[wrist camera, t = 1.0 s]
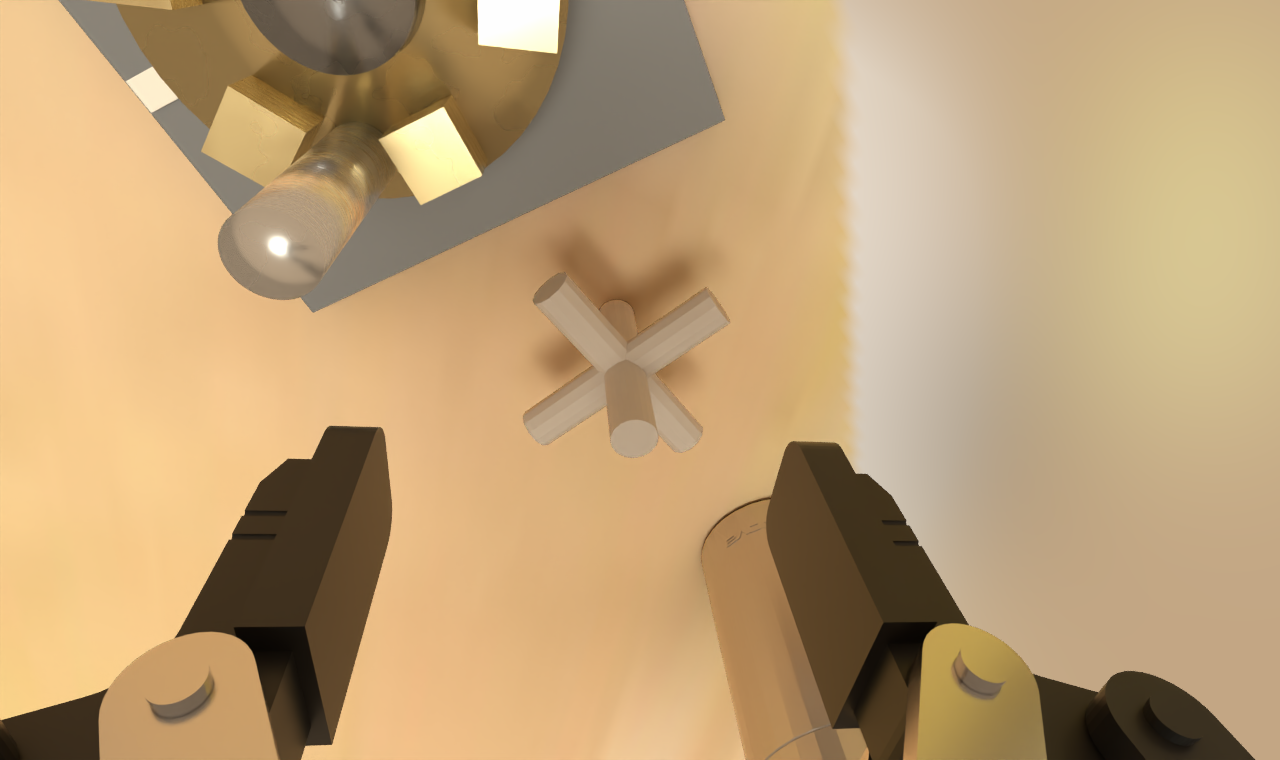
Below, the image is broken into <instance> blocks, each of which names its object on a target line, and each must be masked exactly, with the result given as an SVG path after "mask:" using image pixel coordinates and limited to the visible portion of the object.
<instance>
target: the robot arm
mask: <svg viewBox="0 0 1280 760" xmlns="http://www.w3.org/2000/svg"><path fill="white" fill-rule="evenodd" d="M391 521H392V499H391V490H390V480H389V471H388V461H387V452H386V442H385V435H384V432H383V429H382V428H381V427H350V426H329V427H328V428H327V429H326V430H325V432H324V434H323V436H322V439H321V441H320V443H319V445H318V447H317V449H316V451H315V453H314V456H313V458H312V459H287V460H286V461H285V462H284V463H283V464H281V465H280V466H279V467H278V468H277V469H275V470H274V471H273V472H272V473H271V474H270V475H268V476H267V477H266V478H265V479H264V480H262V481H261V482H260V483H259V485H258V487H257V489H256V491H255V493H254V494H253V496H252V498H251V500H250V502H249V504H248V506H247V507H246V509H245V515H244V516H242V517H241V518H240V520H239V522H238V524H237V526H236V528H235V529H234V531H233V533H232V539H231V540H229V541H228V542H227V544H226V546H225V548H224V550H223V552H222V553H221V555H220V557H219V559H218V561H217V563H216V564H215V566H214V568H213V570H212V572H211V574H210V575H209V577H208V579H207V581H206V583H205V585H204V587H203V588H202V590H201V592H200V594H199V596H198V598H197V599H196V601H195V603H194V605H193V607H192V609H191V610H190V612H189V614H188V616H187V618H186V620H185V622H184V623H183V625H182V627H181V629H180V631H179V632H178V634H177V635H176V637H175V638H174V639H172V640H169V641H167V642H164V643H162V644H160V645H158V646H156V647H154V648H152V649H151V650H149V651H147V652H146V653H144V654H143V655H141V656H140V657H138V658H137V659H136V660H135V661H133V662H132V663H131V664H130V665H129V666H127V667H126V668H125V669H124V670H123V671H122V672H121V673H120V675H119V676H118V677H117V678H116V679H115V680H114V682H113V683H112V684H111V686H110V687H109V688H108V689H106V690H103V691H101V692H99V693H96V694H92V695H89V696H86V697H83V698H80V699H76V700H73V701H69V702H65V703H62V704H58V705H55V706H51V707H47V708H44V709H40V710H36V711H33V712H29V713H26V714H22V715H18V716H15V717H11V718H8V719H4V720H0V760H301V758H302V754H303V751H304V748H305V746H309V745H332V743H333V739H334V736H335V732H336V728H337V725H338V721H339V718H340V714H341V710H342V707H343V703H344V700H345V696H346V692H347V689H348V685H349V682H350V678H351V674H352V671H353V667H354V664H355V660H356V656H357V653H358V649H359V646H360V642H361V638H362V635H363V631H364V628H365V624H366V621H367V617H368V613H369V610H370V606H371V603H372V599H373V595H374V592H375V588H376V585H377V581H378V577H379V574H380V570H381V567H382V563H383V559H384V556H385V552H386V549H387V545H388V541H389V536H390V530H391ZM701 562H702V567H703V571H704V576H705V580H706V585H707V590H708V594H709V599H710V603H711V608H712V613H713V618H714V622H715V627H716V631H717V636H718V640H719V644H720V649H721V653H722V658H723V662H724V666H725V671H726V675H727V680H728V684H729V689H730V693H731V697H732V702H733V706H734V711H735V715H736V719H737V724H738V728H739V733H740V737H741V741H742V746H743V750H744V755H745V759H746V760H1255V759H1254V758H1253V757H1252V756H1251V755H1250V754H1249V753H1248V752H1247V750H1246V749H1245V748H1244V747H1243V746H1242V745H1241V744H1240V743H1239V742H1238V741H1237V740H1236V739H1235V738H1234V737H1233V735H1232V734H1231V733H1230V732H1229V731H1228V730H1227V729H1226V728H1225V727H1224V726H1223V725H1222V724H1221V723H1220V722H1219V720H1217V718H1216V717H1215V716H1214V715H1213V714H1212V713H1211V712H1210V711H1209V710H1208V709H1206V707H1205V706H1203V705H1202V704H1201V703H1200V702H1199V701H1197V700H1196V699H1195V698H1194V697H1192V696H1190V695H1189V694H1188V693H1187V692H1185V691H1184V690H1182V689H1180V688H1179V687H1177V686H1175V685H1174V684H1172V683H1170V682H1168V681H1165V680H1163V679H1161V678H1158V677H1156V676H1153V675H1150V674H1146V673H1143V672H1135V671H1124V672H1121V673H1117V674H1115V675H1113V676H1112V677H1111V678H1110V679H1109V680H1108V682H1107V683H1106V684H1105V685H1104V686H1103V688H1102V689H1101V690H1100V691H1099V693H1098V692H1095V691H1091V690H1087V689H1084V688H1080V687H1077V686H1073V685H1069V684H1066V683H1062V682H1059V681H1055V680H1051V679H1047V678H1044V677H1040V676H1038V675H1035V674H1032V672H1031V671H1030V669H1029V667H1028V666H1027V665H1026V663H1025V662H1024V661H1023V660H1022V658H1021V657H1020V656H1019V655H1018V654H1017V653H1016V652H1015V651H1014V650H1013V649H1012V648H1010V647H1009V646H1008V645H1007V644H1005V643H1004V642H1003V641H1001V640H1000V639H998V638H997V637H995V636H993V635H992V634H990V633H988V632H985V631H983V630H981V629H979V628H976V627H972V626H969V624H968V623H967V621H966V620H965V618H964V616H963V615H962V613H961V611H960V610H959V608H958V606H957V605H956V603H955V601H954V600H953V598H952V596H951V595H950V593H949V591H948V590H947V588H946V586H945V585H944V583H943V581H942V579H941V578H940V576H939V574H938V573H937V571H936V569H935V568H934V566H933V564H932V563H931V561H930V560H929V558H928V556H927V554H926V553H925V551H924V549H923V548H922V546H919V545H918V540H917V538H916V536H915V534H914V533H913V531H912V529H911V528H910V526H907V525H906V519H905V518H904V516H903V514H902V512H901V511H900V509H899V507H898V506H897V504H896V503H895V501H894V499H893V498H892V496H891V495H890V494H889V493H888V492H887V491H886V490H884V489H883V488H882V487H881V486H880V485H879V484H878V483H877V482H875V481H874V480H873V479H872V478H871V477H870V476H869V475H868V474H855V472H854V470H853V468H852V466H851V465H850V463H849V461H848V459H847V457H846V456H845V454H844V452H843V450H842V449H841V447H840V446H839V445H838V444H836V443H828V442H796V441H793V442H790V443H789V444H788V446H787V447H786V449H785V452H784V456H783V459H782V462H781V466H780V469H779V472H778V476H777V479H776V483H775V486H774V489H773V493H772V496H771V499H769V500H763V501H760V502H756V503H753V504H749V505H747V506H745V507H743V508H741V509H739V510H737V511H735V512H733V513H732V514H730V515H729V516H727V517H726V518H724V519H723V520H722V521H721V522H720V523H719V524H718V525H717V526H716V527H715V528H714V529H713V530H712V531H711V533H710V534H709V536H708V537H707V539H706V541H705V544H704V546H703V549H702V557H701Z"/></svg>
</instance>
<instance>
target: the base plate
mask: <svg viewBox="0 0 1280 760" xmlns="http://www.w3.org/2000/svg"><path fill="white" fill-rule="evenodd" d="M59 1H60V2H61V4H62V5H63V6H64V7H65V9H66V10H67V11H68V12H69V13H70V15H71V16H72V17H73V18H74V20H75V21H76V22H77V23H78V25H79V26H80V27H81V28H82V29H83V31H84V32H85V33H86V34H87V36H88V37H89V38H90V39H91V41H92V42H93V43H94V44H95V45H96V47H97V48H98V49H99V50H100V52H101V53H102V54H103V55H104V57H105V58H106V59H107V60H108V61H109V63H110V64H111V65H112V66H113V68H114V69H115V70H116V71H117V72H118V74H119V75H120V76H121V77H122V79H123V80H124V81H125V82H126V84H127V85H128V86H129V87H130V88H131V90H132V91H133V92H134V93H135V95H136V96H137V97H138V98H139V100H140V101H141V102H142V103H143V104H144V106H145V107H146V108H147V109H148V111H149V112H150V113H151V114H152V116H153V117H154V118H155V119H156V120H157V122H158V123H159V124H160V125H161V127H162V128H163V129H164V130H165V131H166V133H167V134H168V135H169V136H170V138H171V139H172V140H173V141H174V143H175V144H176V145H177V146H178V147H179V149H180V150H181V151H182V152H183V154H184V155H185V156H186V157H187V159H188V160H189V161H190V162H191V163H192V165H193V166H194V167H195V168H196V170H197V171H198V172H199V173H200V174H201V176H202V177H203V178H204V179H205V181H206V182H207V183H208V184H209V186H210V187H211V188H212V189H213V190H214V192H215V193H216V194H217V195H218V197H219V198H220V199H221V200H222V202H223V203H224V204H225V205H226V206H227V208H228V209H229V210H230V211H231V213H232V214H234V213H235V212H236V211H238V210H239V209H240V208H241V207H242V206H243V205H245V204H246V203H247V202H248V201H249V200H251V199H252V198H253V197H254V196H255V195H256V194H258V193H259V192H260V191H261V190H262V189H264V188H265V187H263V186H262V185H260V184H258V183H256V182H255V181H253V180H251V179H249V178H247V177H246V176H244V175H242V174H240V173H238V172H237V171H235V170H233V169H231V168H230V167H228V166H226V165H224V164H222V163H221V162H219V161H217V160H215V159H213V158H212V157H210V156H208V155H206V154H205V153H203V152H201V150H202V148H203V145H204V143H205V140H206V138H207V135H208V133H209V130H210V129H209V128H208V127H207V126H206V125H205V124H204V123H203V122H202V121H201V120H199V119H198V118H197V117H196V116H195V115H194V114H193V113H192V112H191V111H190V110H189V109H188V108H187V107H186V106H185V105H184V104H183V103H182V102H181V101H180V100H179V98H178V97H177V96H176V95H175V94H174V93H173V92H172V90H171V89H170V88H169V87H168V86H167V85H166V83H165V82H164V81H163V80H162V79H161V78H160V76H159V75H158V73H157V72H156V71H155V69H154V68H153V66H152V65H151V63H150V62H149V61H148V59H147V58H146V56H145V55H144V54H143V52H142V51H141V49H140V48H139V46H138V44H137V43H136V41H135V39H134V37H133V36H132V34H131V32H130V30H129V29H128V27H127V25H126V23H125V22H124V20H123V18H122V16H121V14H120V12H119V9H118V7H117V5H116V4H115V3H106V2H97V1H88V0H59ZM568 2H569V6H568V15H567V24H566V33H565V39H564V43H563V47H562V52H561V56H560V60H559V64H558V67H557V70H556V73H555V75H554V78H553V81H552V83H551V86H550V89H549V91H548V93H547V95H546V97H545V99H544V101H543V103H542V104H541V106H540V108H539V110H538V112H537V114H536V115H535V117H534V118H533V120H532V121H531V122H530V124H529V125H528V127H527V128H526V129H525V131H524V132H523V133H522V135H521V136H520V137H519V138H518V139H517V140H516V141H515V142H514V143H513V144H512V145H511V146H510V148H509V149H508V150H507V151H506V152H505V153H504V154H503V155H501V156H500V157H499V158H497V159H496V160H495V161H494V162H492V163H491V164H490V165H488V166H487V167H486V168H485V169H484V172H483V175H482V176H480V177H478V178H476V179H474V180H472V181H470V182H468V183H466V184H464V185H462V186H460V187H458V188H455V189H453V190H451V191H449V192H447V193H445V194H443V195H441V196H439V197H437V198H435V199H433V200H431V201H428V202H426V203H424V204H422V205H420V203H419V202H418V200H417V199H416V197H415V196H411V197H401V198H392V199H386V198H378V199H377V200H376V202H375V203H374V205H373V206H372V207H371V209H370V210H369V212H368V213H367V215H366V216H365V217H364V219H363V220H362V222H361V223H360V225H359V226H358V228H357V229H356V230H355V232H354V233H353V235H352V236H351V238H350V239H349V240H348V242H347V243H346V245H345V246H344V248H343V249H342V250H341V252H340V253H339V255H338V256H337V258H336V259H335V260H334V262H333V263H332V265H331V266H330V268H329V269H328V270H327V272H326V273H325V275H324V276H323V278H322V279H321V280H320V282H319V283H318V285H317V286H316V287H315V288H314V289H313V290H312V291H311V292H309V293H308V294H306V295H304V296H302V297H301V299H302V300H303V301H304V302H305V304H306V305H307V306H308V307H309V308H310V310H311V311H312V312H313V313H314V312H316V311H318V310H320V309H322V308H324V307H326V306H329V305H331V304H333V303H335V302H337V301H339V300H341V299H343V298H346V297H348V296H350V295H352V294H354V293H356V292H358V291H361V290H363V289H365V288H367V287H369V286H371V285H373V284H376V283H378V282H380V281H382V280H384V279H386V278H388V277H391V276H393V275H395V274H397V273H399V272H401V271H403V270H406V269H408V268H410V267H412V266H414V265H416V264H418V263H421V262H423V261H425V260H427V259H429V258H431V257H433V256H435V255H438V254H440V253H442V252H444V251H446V250H448V249H450V248H453V247H455V246H457V245H459V244H461V243H463V242H465V241H468V240H470V239H472V238H474V237H476V236H478V235H480V234H483V233H485V232H487V231H489V230H491V229H493V228H495V227H498V226H500V225H502V224H504V223H506V222H508V221H510V220H513V219H515V218H517V217H519V216H521V215H523V214H525V213H528V212H530V211H532V210H534V209H536V208H538V207H540V206H542V205H545V204H547V203H549V202H551V201H553V200H555V199H557V198H560V197H562V196H564V195H566V194H568V193H570V192H572V191H575V190H577V189H579V188H581V187H583V186H585V185H587V184H590V183H592V182H594V181H596V180H598V179H600V178H602V177H605V176H607V175H609V174H611V173H613V172H615V171H617V170H620V169H622V168H624V167H626V166H628V165H630V164H632V163H634V162H637V161H639V160H641V159H643V158H645V157H647V156H649V155H652V154H654V153H656V152H658V151H660V150H662V149H664V148H667V147H669V146H671V145H673V144H675V143H677V142H679V141H682V140H684V139H686V138H688V137H690V136H692V135H694V134H697V133H699V132H701V131H703V130H705V129H707V128H709V127H712V126H714V125H716V124H718V123H720V122H722V121H724V120H725V118H724V115H723V112H722V109H721V107H720V104H719V101H718V98H717V95H716V92H715V89H714V86H713V83H712V80H711V77H710V75H709V72H708V69H707V66H706V63H705V60H704V57H703V54H702V51H701V48H700V45H699V43H698V40H697V37H696V34H695V31H694V28H693V25H692V22H691V19H690V16H689V13H688V10H687V8H686V5H685V2H684V0H568Z"/></svg>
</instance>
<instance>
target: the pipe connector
mask: <svg viewBox="0 0 1280 760" xmlns="http://www.w3.org/2000/svg"><path fill="white" fill-rule="evenodd" d="M533 302H534V304H535V305H536V306H537V307H538V308H539V309H540V310H541V311H542V313H543V314H544V315H545V316H546V317H547V318H548V319H549V320H550V321H551V322H552V323H553V324H554V325H555V326H556V327H557V328H558V329H559V330H560V331H561V333H562V334H563V335H564V336H565V337H566V338H567V339H568V340H569V341H570V342H571V343H572V344H573V345H574V346H575V347H576V348H577V349H578V350H579V352H580V353H581V354H582V355H583V356H584V357H585V358H586V359H587V360H588V361H589V362H590V363H591V364H592V366H591V367H590V368H588V369H587V370H585V371H584V372H582V373H581V374H579V375H578V376H577V377H575V378H574V379H572V380H571V381H569V382H568V383H566V384H565V385H564V386H562V387H561V388H559V389H558V390H556V391H555V392H553V393H552V394H551V395H549V396H548V397H546V398H545V399H543V400H542V401H540V402H539V403H537V404H536V405H535V406H533V407H532V408H530V409H529V410H527V411H526V412H525V413H524V415H523V420H524V424H525V426H526V428H527V430H528V432H529V434H530V435H531V436H532V437H533V438H534V440H535V441H537V442H538V443H540V444H541V445H548V444H550V443H551V442H553V441H554V440H556V439H557V438H559V437H560V436H562V435H563V434H565V433H566V432H568V431H569V430H571V429H572V428H574V427H575V426H577V425H578V424H580V423H581V422H583V421H584V420H586V419H587V418H589V417H590V416H592V415H593V414H595V413H596V412H598V411H599V410H601V409H602V408H604V407H605V406H607V412H608V422H609V431H610V441H611V445H612V448H613V449H614V450H615V452H617V453H618V454H619V455H622V456H624V457H629V458H637V457H641V456H644V455H646V454H648V453H650V452H651V451H652V450H653V449H654V448H655V446H656V445H657V442H658V435H659V436H660V437H661V438H662V439H663V440H664V441H665V442H666V443H667V444H668V445H669V446H670V448H671V449H672V450H673V451H674V452H679V453H682V452H685V451H687V450H690V449H691V448H692V447H693V446H694V445H696V444H697V443H698V441H699V439H700V438H701V436H702V430H703V427H702V426H701V425H700V424H699V423H698V422H697V420H696V419H695V418H694V417H693V416H692V415H691V414H690V413H689V411H688V410H687V409H686V408H685V407H684V406H683V405H682V404H681V402H680V401H679V400H678V399H677V398H676V397H675V396H674V394H673V393H672V392H671V391H670V390H669V389H668V388H667V387H666V385H665V384H664V383H663V382H662V381H661V380H660V379H659V378H658V376H657V375H656V374H655V373H656V372H658V371H659V370H661V369H662V368H664V367H665V366H667V365H668V364H670V363H671V362H673V361H674V360H676V359H677V358H679V357H680V356H682V355H683V354H685V353H686V352H688V351H689V350H691V349H692V348H694V347H695V346H697V345H698V344H700V343H701V342H703V341H704V340H706V339H707V338H709V337H710V336H712V335H713V334H715V333H716V332H718V331H719V330H721V329H722V328H724V327H725V326H727V325H728V324H730V320H729V318H728V316H727V314H726V312H725V311H724V309H723V308H722V306H721V304H720V303H719V302H718V300H717V299H716V297H715V296H714V295H713V293H712V292H711V291H710V290H709V289H708V288H707V287H705V288H704V289H702V290H701V291H700V292H698V293H697V294H695V295H694V296H692V297H691V298H689V299H688V300H687V301H685V302H684V303H682V304H681V305H679V306H678V307H676V308H675V309H674V310H672V311H671V312H669V313H668V314H666V315H665V316H663V317H662V318H660V319H659V320H658V321H656V322H655V323H653V324H652V325H650V326H649V327H647V328H646V329H645V330H643V331H642V332H640V333H639V334H638V331H637V326H636V321H635V316H634V312H633V309H632V307H631V306H630V305H629V304H628V303H627V302H625V301H622V300H611V301H608V302H606V303H605V304H604V305H603V306H602V307H601V308H600V310H598V309H597V308H596V307H595V305H594V304H593V303H592V302H591V301H590V300H589V299H588V298H587V296H586V295H585V294H584V293H583V292H582V291H581V290H580V289H579V287H578V286H577V285H576V284H575V283H574V282H573V281H572V280H571V278H570V277H569V276H568V275H567V274H566V273H565V272H563V273H558V274H557V275H555V276H553V277H552V278H550V279H549V280H548V281H547V282H546V283H544V284H543V285H542V286H541V287H540V289H539V290H538V291H537V292H536V294H535V296H534V298H533Z"/></svg>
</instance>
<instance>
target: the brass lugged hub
mask: <svg viewBox="0 0 1280 760" xmlns="http://www.w3.org/2000/svg"><path fill="white" fill-rule="evenodd" d="M88 1H97V2H106V3H115V4H116V5H117V7H118V9H119V12H120V14H121V16H122V18H123V20H124V22H125V23H126V25H127V27H128V29H129V30H130V32H131V34H132V36H133V37H134V39H135V41H136V43H137V44H138V46H139V48H140V49H141V51H142V52H143V54H144V55H145V56H146V58H147V59H148V61H149V62H150V63H151V65H152V66H153V68H154V69H155V71H156V72H157V73H158V75H159V76H160V78H161V79H162V80H163V81H164V82H165V83H166V85H167V86H168V87H169V88H170V89H171V90H172V92H173V93H174V94H175V95H176V96H177V97H178V98H179V100H180V101H181V102H182V103H183V104H184V105H185V106H186V107H187V108H188V109H189V110H190V111H191V112H192V113H193V114H194V115H195V116H196V117H197V118H198V119H199V120H201V121H202V122H203V123H204V124H205V125H206V126H207V127H208V128H209V129H210V130H209V133H208V135H207V138H206V140H205V143H204V145H203V148H202V150H201V152H203V153H205V154H206V155H208V156H210V157H212V158H213V159H215V160H217V161H219V162H221V163H222V164H224V165H226V166H228V167H230V168H231V169H233V170H235V171H237V172H238V173H240V174H242V175H244V176H246V177H247V178H249V179H251V180H253V181H255V182H256V183H258V184H260V185H262V186H263V187H265V188H264V189H262V190H261V191H260V192H259V193H258V194H256V195H255V196H254V197H253V198H252V199H251V200H249V201H248V202H247V203H246V204H245V205H243V206H242V207H241V208H240V209H239V210H238V211H236V212H235V213H234V214H233V215H232V216H230V217H229V218H228V219H227V220H226V221H225V223H224V224H223V226H222V227H221V229H220V232H219V236H218V250H219V254H220V257H221V260H222V262H223V264H224V266H225V268H226V269H227V271H228V272H229V273H230V275H231V276H232V277H233V278H234V279H235V280H236V281H237V282H238V283H240V284H241V285H242V286H244V287H245V288H246V289H248V290H250V291H252V292H253V293H256V294H258V295H260V296H263V297H266V298H271V299H277V300H289V299H295V298H299V297H302V296H304V295H306V294H308V293H309V292H311V291H312V290H313V289H314V288H315V287H316V286H317V285H318V283H319V282H320V280H321V279H322V278H323V276H324V275H325V273H326V272H327V270H328V269H329V268H330V266H331V265H332V263H333V262H334V260H335V259H336V258H337V256H338V255H339V253H340V252H341V250H342V249H343V248H344V246H345V245H346V243H347V242H348V240H349V239H350V238H351V236H352V235H353V233H354V232H355V230H356V229H357V228H358V226H359V225H360V223H361V222H362V220H363V219H364V217H365V216H366V215H367V213H368V212H369V210H370V209H371V207H372V206H373V205H374V203H375V202H376V200H377V199H378V198H386V199H392V198H401V197H411V196H415V197H416V199H417V200H418V202H419V203H420V205H422V204H424V203H426V202H428V201H431V200H433V199H435V198H437V197H439V196H441V195H443V194H445V193H447V192H449V191H451V190H453V189H455V188H458V187H460V186H462V185H464V184H466V183H468V182H470V181H472V180H474V179H476V178H478V177H480V176H482V175H483V172H484V169H485V168H486V167H487V166H488V165H490V164H491V163H492V162H494V161H495V160H496V159H497V158H499V157H500V156H501V155H503V154H504V153H505V152H506V151H507V150H508V149H509V148H510V146H511V145H512V144H513V143H514V142H515V141H516V140H517V139H518V138H519V137H520V136H521V135H522V133H523V132H524V131H525V129H526V128H527V127H528V125H529V124H530V122H531V121H532V120H533V118H534V117H535V115H536V114H537V112H538V110H539V108H540V106H541V104H542V103H543V101H544V99H545V97H546V95H547V93H548V91H549V89H550V86H551V83H552V81H553V78H554V75H555V73H556V70H557V67H558V64H559V60H560V56H561V52H562V47H563V43H564V39H565V33H566V24H567V15H568V6H569V2H568V0H88Z"/></svg>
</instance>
